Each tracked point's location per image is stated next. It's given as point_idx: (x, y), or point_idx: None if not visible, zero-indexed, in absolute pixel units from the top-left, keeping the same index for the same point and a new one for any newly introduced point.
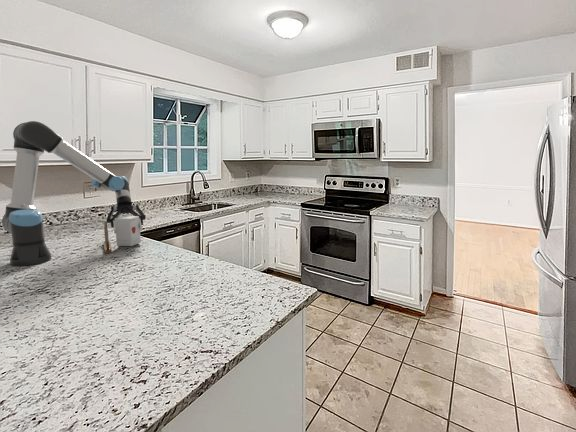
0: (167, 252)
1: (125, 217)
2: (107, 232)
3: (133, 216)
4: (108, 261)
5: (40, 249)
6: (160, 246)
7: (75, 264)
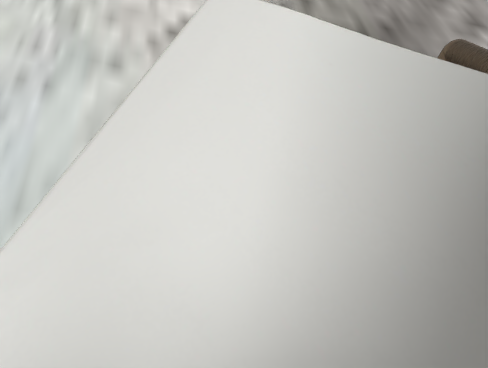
0: (9, 74)
1: (359, 142)
2: (450, 43)
3: (121, 298)
4: (312, 12)
5: None
6: (2, 237)
7: (450, 8)
